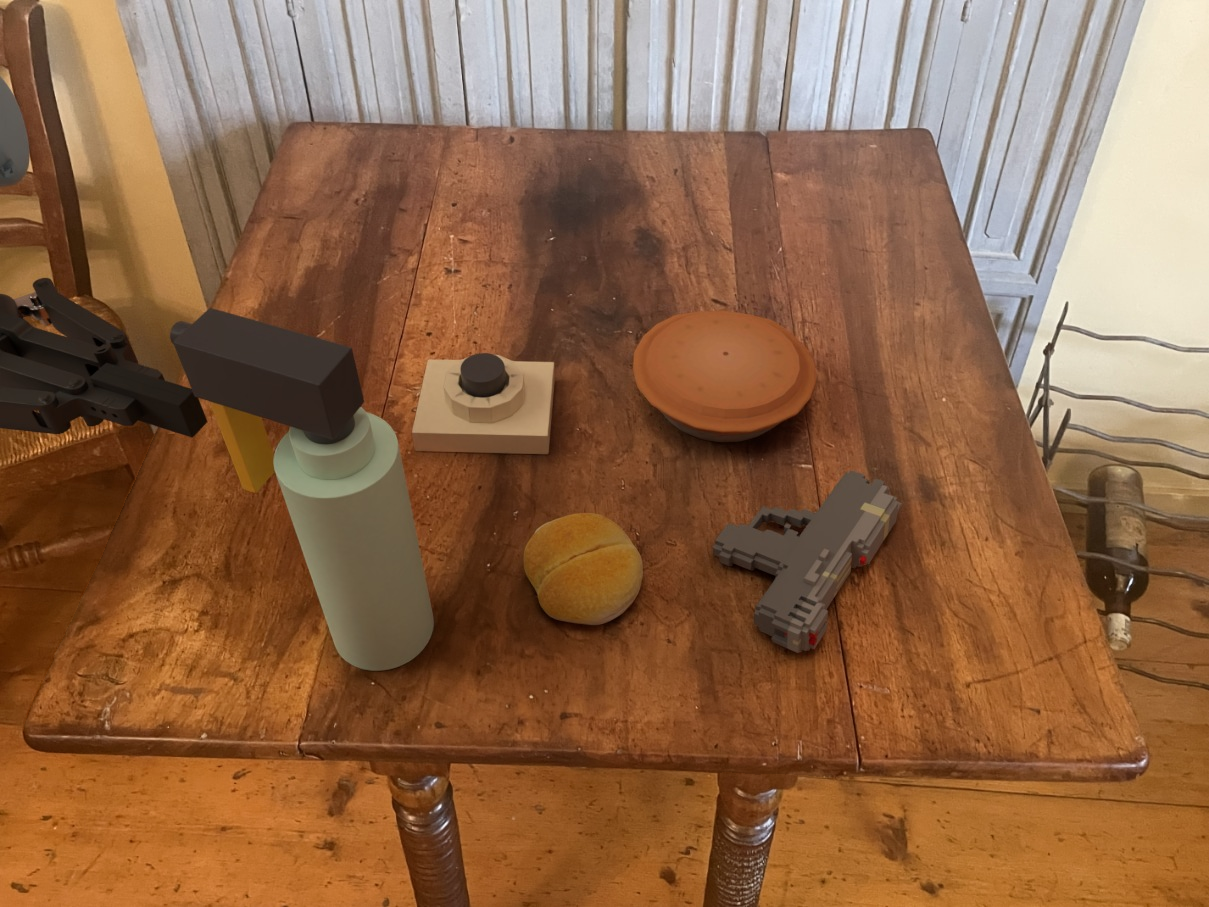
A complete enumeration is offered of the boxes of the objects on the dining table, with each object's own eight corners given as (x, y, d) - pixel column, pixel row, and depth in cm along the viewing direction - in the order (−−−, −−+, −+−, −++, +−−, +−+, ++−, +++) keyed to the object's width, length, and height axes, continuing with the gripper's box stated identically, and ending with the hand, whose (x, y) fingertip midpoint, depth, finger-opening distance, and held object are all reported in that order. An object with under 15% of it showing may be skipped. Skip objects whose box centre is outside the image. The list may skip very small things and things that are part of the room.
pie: (826, 458, 81) (838, 415, 77) (638, 465, 80) (641, 421, 77) (791, 337, 92) (799, 294, 88) (625, 342, 91) (626, 299, 87)
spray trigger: (242, 489, 61) (207, 398, 55) (265, 463, 62) (233, 372, 57) (256, 494, 61) (222, 403, 55) (278, 467, 62) (248, 376, 57)
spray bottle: (249, 628, 69) (129, 358, 51) (305, 554, 74) (212, 282, 56) (403, 684, 66) (332, 420, 48) (451, 604, 71) (403, 334, 53)
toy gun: (680, 575, 70) (809, 631, 65) (785, 444, 79) (905, 484, 74) (683, 608, 72) (808, 665, 67) (784, 477, 81) (901, 518, 76)
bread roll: (557, 646, 68) (555, 614, 66) (512, 552, 74) (509, 518, 71) (664, 606, 71) (667, 573, 68) (612, 518, 76) (613, 484, 73)
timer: (415, 451, 81) (408, 416, 78) (430, 377, 87) (425, 343, 84) (548, 454, 81) (547, 419, 78) (554, 380, 87) (553, 346, 84)
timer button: (459, 397, 80) (457, 381, 79) (465, 368, 83) (463, 352, 81) (503, 398, 80) (502, 382, 79) (507, 369, 83) (506, 353, 81)
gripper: (-5, 308, 72) (271, 390, 66) (-159, 425, 63) (142, 532, 58) (-54, 219, 66) (242, 301, 61) (-229, 335, 58) (96, 443, 52)
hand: (193, 413), depth 59 cm, fingers closed
